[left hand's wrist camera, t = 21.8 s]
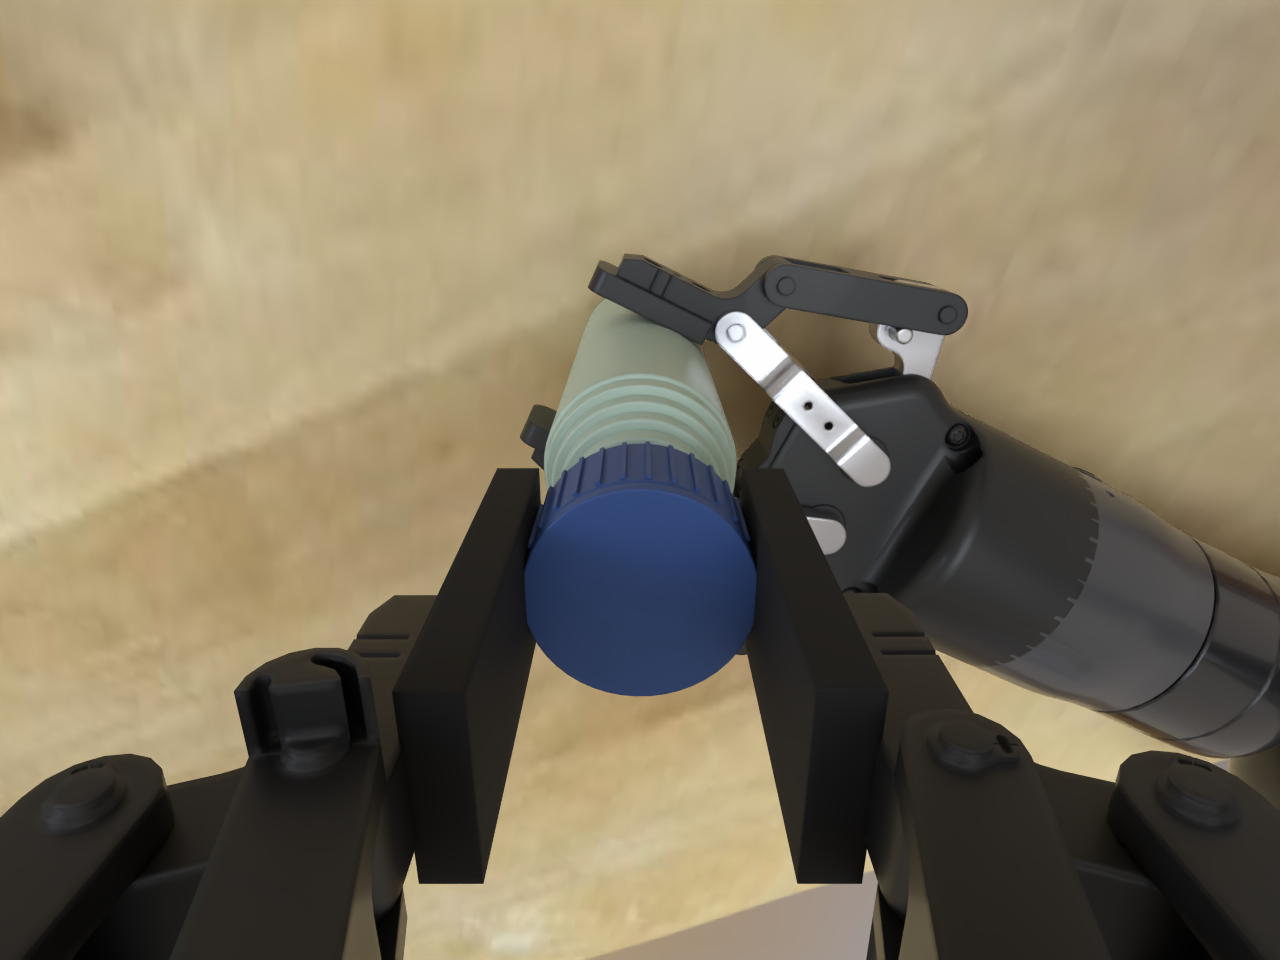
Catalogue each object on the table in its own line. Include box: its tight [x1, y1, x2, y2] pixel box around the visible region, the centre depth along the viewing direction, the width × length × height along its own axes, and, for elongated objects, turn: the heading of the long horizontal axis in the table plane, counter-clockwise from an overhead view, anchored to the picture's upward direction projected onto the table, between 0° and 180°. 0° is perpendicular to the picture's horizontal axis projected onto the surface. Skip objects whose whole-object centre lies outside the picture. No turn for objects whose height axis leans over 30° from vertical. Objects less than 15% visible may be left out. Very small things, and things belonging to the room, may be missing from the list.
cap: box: [524, 441, 757, 696], centre depth 14 cm, size 4×4×2 cm
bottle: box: [544, 298, 737, 494], centre depth 22 cm, size 4×4×19 cm
